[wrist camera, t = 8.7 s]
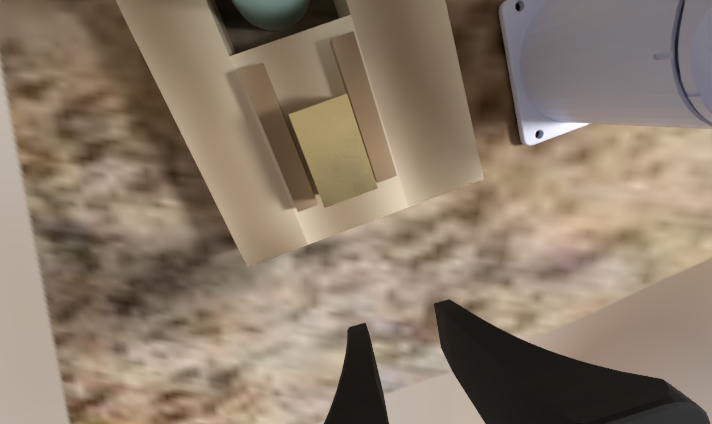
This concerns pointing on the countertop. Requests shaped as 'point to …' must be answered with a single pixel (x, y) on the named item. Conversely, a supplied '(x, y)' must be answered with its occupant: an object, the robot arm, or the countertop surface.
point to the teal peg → (272, 12)
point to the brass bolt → (334, 150)
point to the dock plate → (305, 89)
